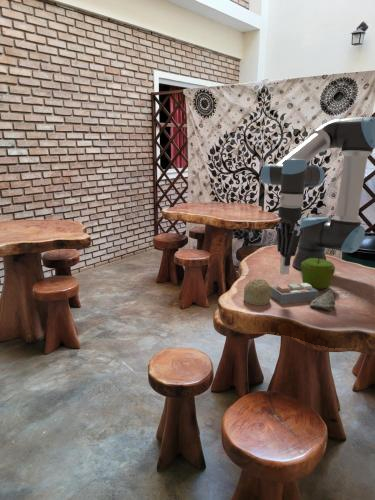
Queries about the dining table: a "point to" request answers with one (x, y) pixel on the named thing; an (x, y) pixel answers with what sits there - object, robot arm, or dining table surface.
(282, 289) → the key
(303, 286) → the key
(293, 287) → the key
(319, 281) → the apple
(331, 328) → the dining table surface
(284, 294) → the keypad
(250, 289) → the decorative object
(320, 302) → the rock sample
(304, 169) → the robot arm
